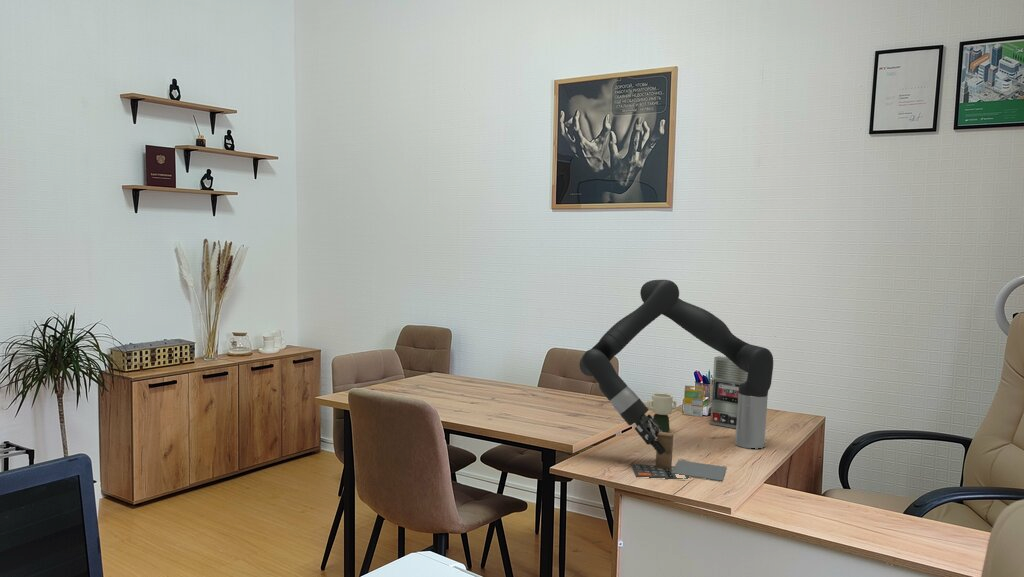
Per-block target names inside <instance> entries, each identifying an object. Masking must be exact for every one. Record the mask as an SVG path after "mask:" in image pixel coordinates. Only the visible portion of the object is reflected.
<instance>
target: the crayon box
mask: <svg viewBox="0 0 1024 577" xmlns="http://www.w3.org/2000/svg"><path fill="white" fill-rule="evenodd" d="M693 388H695V389H693ZM704 389H705V388H704V386H698V385H697V386H696V385H684V391H683V392H684V396H683V409H682V413H683V416H696V417H703V410H704V395H705V394H704V393H705V392H704Z"/></svg>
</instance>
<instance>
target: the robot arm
mask: <svg viewBox="0 0 1024 577" xmlns="http://www.w3.org/2000/svg"><path fill="white" fill-rule="evenodd" d="M639 294H640V299H641V302H643V303H642V304H641V305H639V307H637V308H636V309H635V310H633V311H632V312H630V313H629V314H627V315H626V316H624V317H623V318H621V319H619V320H618V321H617V322H616V323H614V324H613V326H611V328H609V329H608V330H607V331H606V332H605V333H604V334H603V335H602V336H601V338H600V339H599V341H598V342H597V343H595V345H594V346H593V347H591V349H588V350H586V351H585V352H584V354H583V355H582V357H581V359H580V360H579V369H580V371H581V372H582V374H583V375H585V376H587V377H593V378H594V380H595V381H596V382H597V383H598V387H599V390H600V391H601V393H602V394H603V395H604V397H605V398H607V400H608V401H609V402H610V404H611V406H612V407H613V409H614V410H615V411H616V412H617V413H618V415H619V416H620V417H621V418H622V420H623V421H625V423H626V424H627V425H628V426H632V425H634V424H635V425H636V426H635V427H634V430H635V431H636V432H637V434H638V435H639V437H641V439H642V440H643V441H644V442H645V444H646V445H647V446H648V445H650V446H652V448H653V449H654V450H655V451H657V452H658V453H659V454H660V455H661V454H663V453H664V452H665V451H666V449H665V448H664V447H663V446H662V444H661V443H660V442H659V441H658V440H657V434H658V433H659V432H662V428H661V427H660V426H659V425H658V423H657V422H656V421H655V420H654V419H653V416H652V415H651V414H648V415H646V414H647V413H648V411H649V409H648V408H647V405H646V404H645V403H644V402H643V401H642V400H641V398H640V397H639V396H638V395H637V394H636V392H634V390H633V389H631V388H630V387H629V386H628V384H626V382H625V381H624V380H623V379H622V378H621V377H620V376H619V374H618V373H617V371H616V369H615V368H614V366H613V364H612V362H611V361H612V359H613V358H614V357H615V356H617V355H618V354H619V353H620V352H622V351H623V349H625V347H626V346H628V344H630V343H631V341H632V340H633V339H634V338H636V336H638V335H639V333H640V332H641V331H643V330H644V329H645V328H646V327H647V326H649V325H650V324H651V323H653V322H654V321H655V320H656V319H658V318H659V317H660V316H661V315H662V316H664V317H666V318H668V319H669V320H671V321H672V322H674V323H675V324H676V325H678V326H679V327H681V329H683V330H685V332H688V333H689V334H690V335H691V336H693V337H694V338H696V339H698V340H699V341H700V342H701V343H703V344H705V345H707V346H708V347H710V348H711V349H714V350H715V351H717V352H719V353H720V354H722V355H724V357H727V358H729V359H730V360H731V361H732V362H733V363H734V364H735V365H737V366H738V367H739V368H740V369H742V370H743V371H745V372H748V376H747V381H746V382H745V383H742V384H740V385H739V393H738V408H737V424H736V428H735V442H734V443H735V445H736V446H739V447H740V448H744V449H751V448H755V449H754V450H759V449H758V448H761V449H764V448H765V441H766V429H767V428H766V426H767V412H768V398H769V397H768V395H769V390H771V385H772V380H773V379H772V378H773V373H774V372H773V371H774V356H773V353H772V352H771V350H770V349H768V348H765V347H763V346H758V345H755V344H750V343H749V342H748V343H747V342H745V341H744V340H742V339H740V338H739V337H737V336H735V335H734V334H733V333H732V332H731V330H730V328H729V327H728V325H727V324H726V323H725V322H724V321H723V320H722V319H720V318H719V317H717V316H716V315H715V314H713V313H712V312H710V311H709V310H706V309H705V308H702V307H700V306H697V305H695V304H692V303H689V302H687V301H684V300H682V299H681V298H680V289H679V286H678V285H677V284H676V283H675V282H674V281H672V280H669V279H653V280H649V281H646V282H645V283H644V284H643V285H642V286H641V288H640V292H639ZM763 447H764V448H763Z"/></svg>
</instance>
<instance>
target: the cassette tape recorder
mask: <svg viewBox="0 0 1024 577" xmlns="http://www.w3.org/2000/svg"><path fill="white" fill-rule="evenodd" d="M713 360H714V361H713V373H712V374H713V375H712V376H713V377H712V388H711V389H712V390H711V391H712V394H711V406H710V407H711V408H710V420H709V421H708V422H709V425H711V426H714V425H715V426H719V427H725V428H732V429H736V424H737V408H738V393H739V385H740V384H742V383H745V382H746V381H747V376H748V372H745V371H743V370H742V369H740V368H739V367H738V366H737V365H735V364H734V363H733V362H732V361H731V360H730V359H729V358H727V357H726V356H720V355H719V356H715V357H714V358H713Z"/></svg>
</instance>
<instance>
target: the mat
mask: <svg viewBox="0 0 1024 577" xmlns="http://www.w3.org/2000/svg"><path fill="white" fill-rule="evenodd" d="M674 466H675V467H674V469H673V471H672V472H671V473H674V474H679V475H687V476H693V477H692V478H694V477H699V478H698V479H700V478H706V479H705V480H707V479H710V480H709V481H714V480H716V482H720V481H723V480H724V478H725V476H726V475H725V474H726V472H727V471H726V470H727V466H724V465H723V466H722V465H717V464H708V463H702V462H694V461H688V460H680V459H678V460H677V461H676V463H675V465H674ZM725 471H726V472H725Z"/></svg>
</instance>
